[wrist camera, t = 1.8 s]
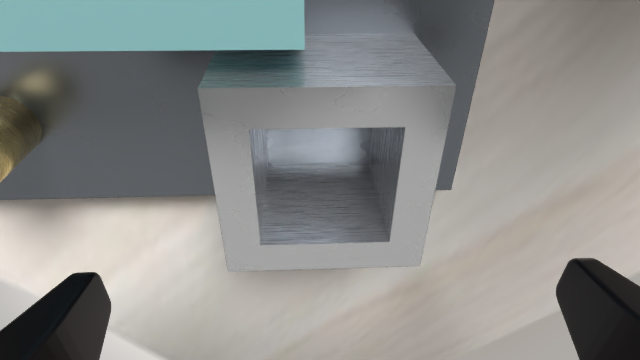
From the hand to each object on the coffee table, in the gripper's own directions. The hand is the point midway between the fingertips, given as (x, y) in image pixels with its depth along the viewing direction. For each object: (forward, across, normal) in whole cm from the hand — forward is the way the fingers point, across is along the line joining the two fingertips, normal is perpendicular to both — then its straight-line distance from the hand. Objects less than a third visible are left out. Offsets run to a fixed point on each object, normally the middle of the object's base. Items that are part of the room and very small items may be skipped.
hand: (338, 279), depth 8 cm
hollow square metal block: (+7, 0, 0) cm, 7 cm away
